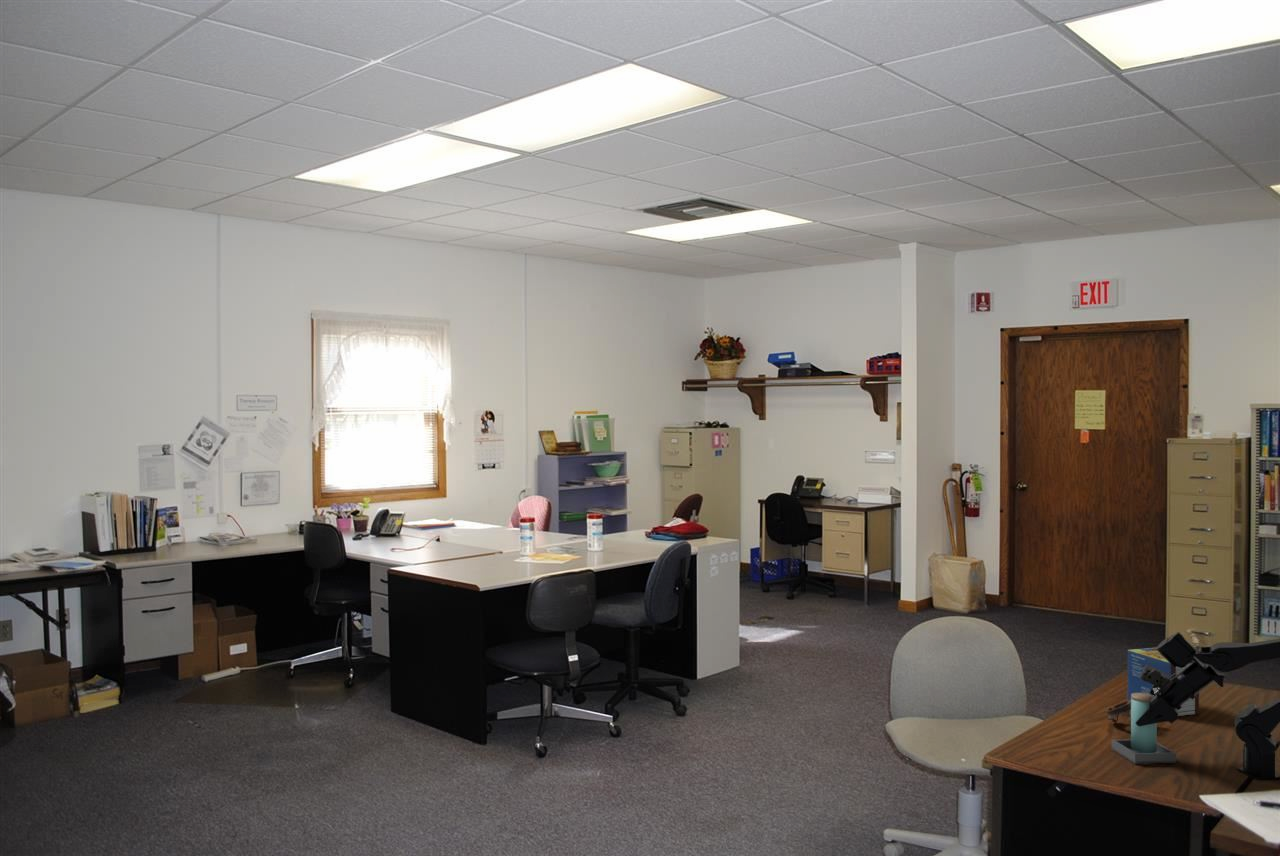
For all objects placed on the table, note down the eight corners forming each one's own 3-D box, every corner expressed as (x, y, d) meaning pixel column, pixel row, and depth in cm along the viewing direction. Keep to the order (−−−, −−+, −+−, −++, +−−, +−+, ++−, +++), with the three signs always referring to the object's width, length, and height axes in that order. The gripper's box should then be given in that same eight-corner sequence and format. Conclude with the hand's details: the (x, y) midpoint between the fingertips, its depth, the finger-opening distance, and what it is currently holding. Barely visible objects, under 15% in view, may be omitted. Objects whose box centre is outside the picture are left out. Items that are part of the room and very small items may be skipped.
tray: (1176, 763, 230) (1176, 753, 230) (1135, 764, 230) (1135, 754, 230) (1150, 748, 241) (1151, 738, 240) (1111, 749, 240) (1111, 739, 240)
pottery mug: (1138, 738, 250) (1120, 708, 252) (1112, 744, 258) (1095, 714, 260) (1167, 720, 255) (1149, 691, 257) (1140, 726, 263) (1124, 697, 266)
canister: (1160, 753, 232) (1160, 699, 232) (1136, 752, 233) (1136, 699, 232) (1150, 745, 238) (1150, 693, 237) (1127, 745, 238) (1127, 692, 238)
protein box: (1154, 699, 283) (1155, 646, 283) (1199, 715, 268) (1200, 659, 268) (1126, 702, 280) (1126, 649, 279) (1170, 718, 265) (1170, 662, 265)
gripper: (1162, 647, 241) (1113, 685, 247) (1161, 664, 225) (1109, 704, 230) (1199, 683, 237) (1148, 721, 243) (1200, 702, 221) (1146, 743, 226)
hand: (1137, 721), depth 236 cm, fingers closed on canister, 5 cm apart
